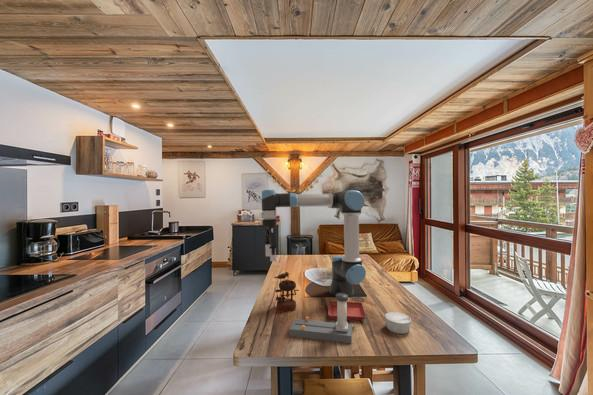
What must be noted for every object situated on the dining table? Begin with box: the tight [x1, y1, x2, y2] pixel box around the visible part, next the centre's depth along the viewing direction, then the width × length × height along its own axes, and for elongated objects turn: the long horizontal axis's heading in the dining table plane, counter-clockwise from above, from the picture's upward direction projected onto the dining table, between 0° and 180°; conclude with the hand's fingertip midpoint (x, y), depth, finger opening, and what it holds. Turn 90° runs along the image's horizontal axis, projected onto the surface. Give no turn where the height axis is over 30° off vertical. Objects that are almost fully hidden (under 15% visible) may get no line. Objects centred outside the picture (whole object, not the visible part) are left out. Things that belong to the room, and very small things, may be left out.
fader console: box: [289, 316, 353, 344], centre depth 111 cm, size 26×10×4 cm, turn 77°
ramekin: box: [384, 311, 412, 335], centre depth 116 cm, size 11×11×5 cm
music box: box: [273, 271, 300, 313], centre depth 140 cm, size 15×11×20 cm
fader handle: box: [335, 293, 349, 332], centre depth 110 cm, size 5×6×14 cm
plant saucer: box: [327, 300, 367, 322], centre depth 132 cm, size 18×18×3 cm
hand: (270, 258), depth 136 cm, fingers open, 13 cm apart
